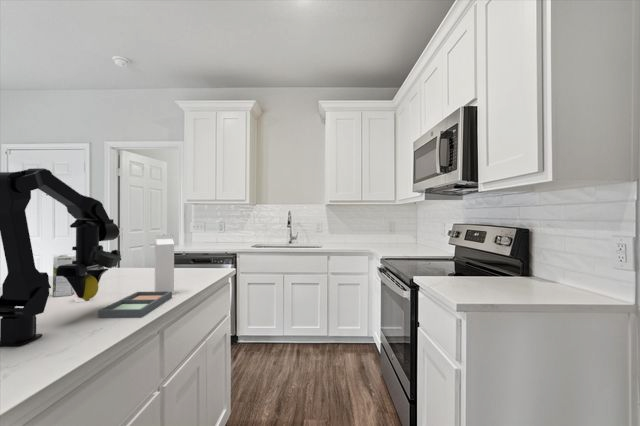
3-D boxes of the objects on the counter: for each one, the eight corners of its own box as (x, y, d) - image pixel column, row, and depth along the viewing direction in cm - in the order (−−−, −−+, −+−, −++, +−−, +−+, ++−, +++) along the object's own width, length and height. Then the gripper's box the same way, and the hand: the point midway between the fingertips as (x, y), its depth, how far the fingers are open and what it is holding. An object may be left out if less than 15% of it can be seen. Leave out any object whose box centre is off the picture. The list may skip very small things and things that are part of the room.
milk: (154, 293, 131) (154, 235, 131) (171, 291, 134) (171, 234, 135) (156, 296, 126) (156, 235, 126) (174, 294, 129) (174, 235, 129)
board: (141, 317, 101) (141, 309, 101) (98, 317, 100) (98, 310, 100) (171, 297, 125) (171, 291, 125) (137, 297, 124) (137, 291, 124)
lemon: (87, 304, 100) (87, 276, 100) (70, 302, 101) (71, 275, 101) (102, 299, 105) (102, 272, 105) (87, 298, 106) (87, 272, 106)
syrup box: (56, 293, 130) (56, 254, 130) (75, 292, 132) (75, 254, 132) (52, 297, 124) (52, 256, 124) (72, 295, 127) (72, 255, 127)
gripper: (97, 245, 94) (96, 303, 94) (130, 240, 113) (130, 288, 113) (54, 245, 93) (53, 303, 93) (95, 240, 112) (94, 288, 112)
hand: (87, 295), depth 103 cm, fingers closed on lemon, 5 cm apart
